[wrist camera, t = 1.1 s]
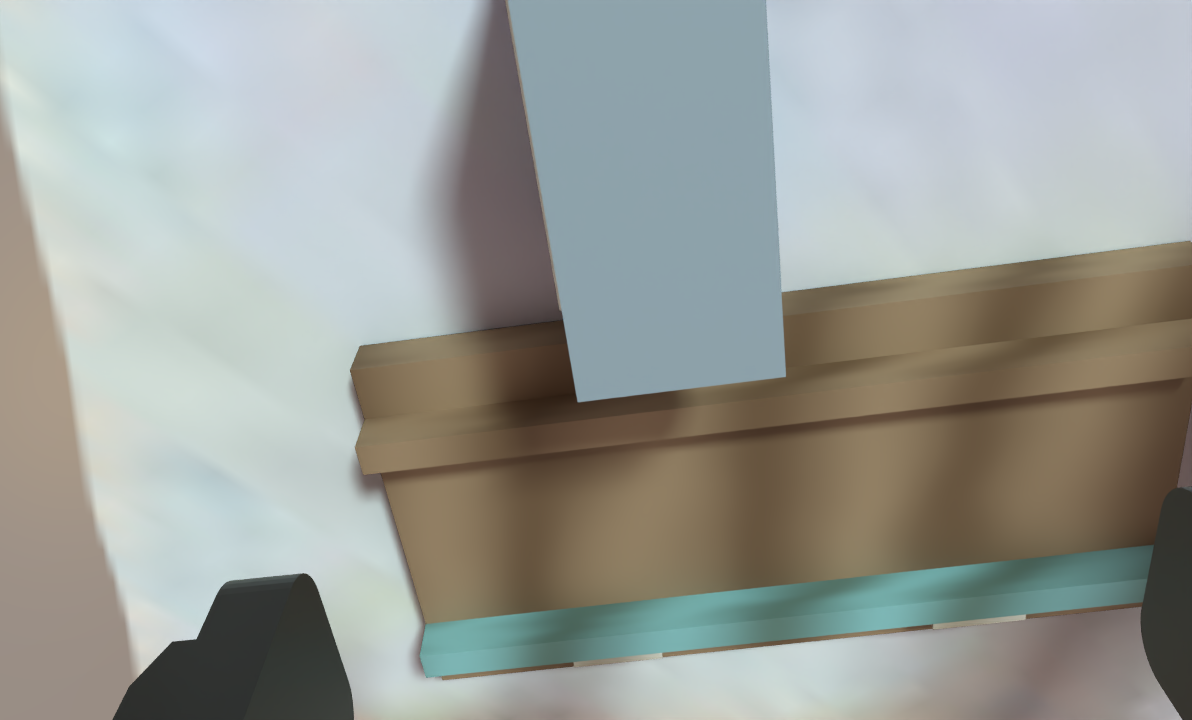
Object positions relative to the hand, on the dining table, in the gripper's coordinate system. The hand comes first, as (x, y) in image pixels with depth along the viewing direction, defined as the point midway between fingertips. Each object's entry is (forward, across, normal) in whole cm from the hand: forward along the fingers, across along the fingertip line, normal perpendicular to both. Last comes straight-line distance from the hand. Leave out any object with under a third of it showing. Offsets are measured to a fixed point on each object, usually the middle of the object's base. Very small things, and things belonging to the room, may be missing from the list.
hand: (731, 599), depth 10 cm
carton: (+20, 0, 0) cm, 20 cm away
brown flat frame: (+20, -3, +13) cm, 24 cm away
